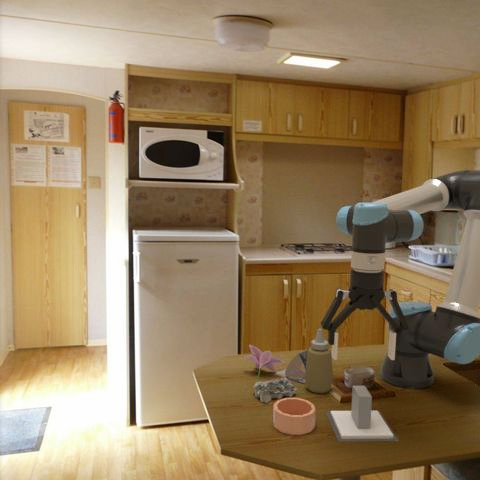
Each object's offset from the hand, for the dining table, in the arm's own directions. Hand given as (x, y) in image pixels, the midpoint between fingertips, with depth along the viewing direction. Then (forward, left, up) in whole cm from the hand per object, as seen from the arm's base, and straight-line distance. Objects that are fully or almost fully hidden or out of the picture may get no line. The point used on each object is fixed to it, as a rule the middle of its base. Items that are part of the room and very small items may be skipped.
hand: (362, 358), depth 118 cm
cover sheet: (0, 0, -17) cm, 17 cm away
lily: (+21, -32, -18) cm, 42 cm away
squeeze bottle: (+6, -21, -18) cm, 28 cm away
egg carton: (+19, -18, -18) cm, 32 cm away
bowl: (+16, -1, -18) cm, 24 cm away
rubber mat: (0, 0, -18) cm, 18 cm away
